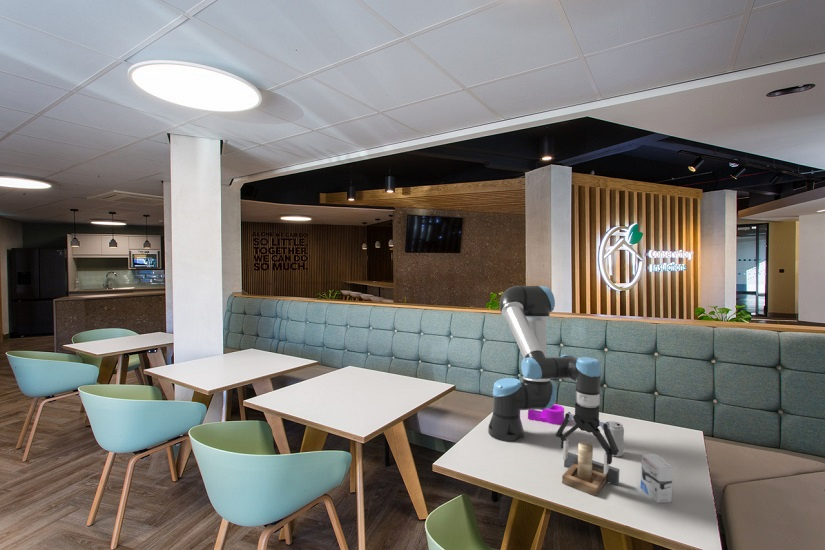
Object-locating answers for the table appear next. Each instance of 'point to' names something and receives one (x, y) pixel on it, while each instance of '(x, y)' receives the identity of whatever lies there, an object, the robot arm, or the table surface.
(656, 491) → the ink box
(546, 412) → the tape dispenser
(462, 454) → the table surface
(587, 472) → the dowel
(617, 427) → the beverage can
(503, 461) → the table surface
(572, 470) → the wooden square tray
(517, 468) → the table surface
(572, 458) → the backstop rail
